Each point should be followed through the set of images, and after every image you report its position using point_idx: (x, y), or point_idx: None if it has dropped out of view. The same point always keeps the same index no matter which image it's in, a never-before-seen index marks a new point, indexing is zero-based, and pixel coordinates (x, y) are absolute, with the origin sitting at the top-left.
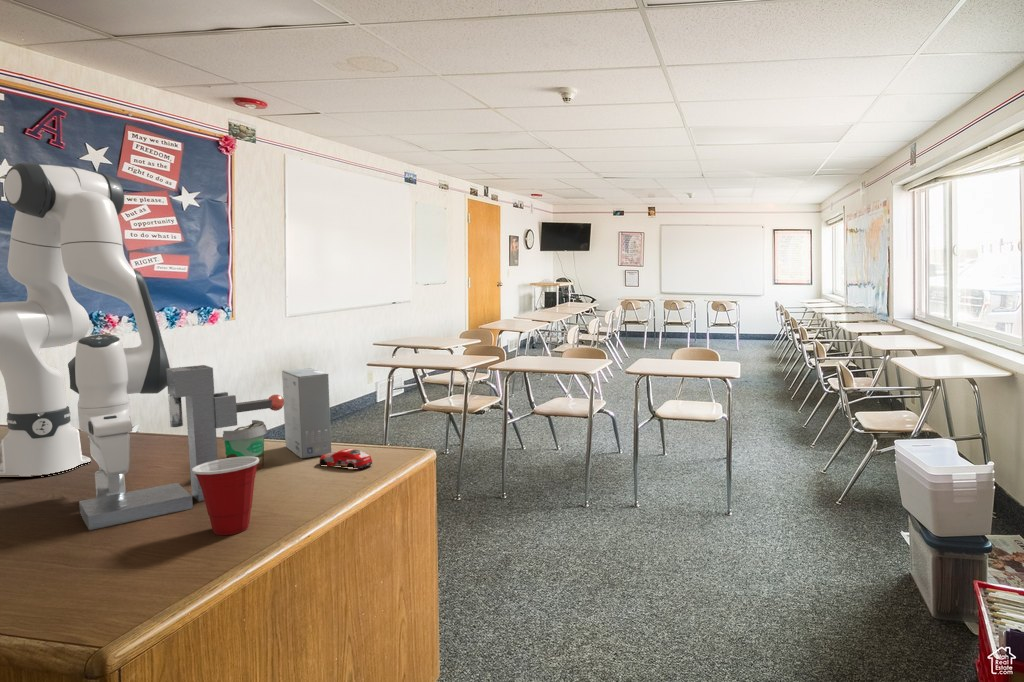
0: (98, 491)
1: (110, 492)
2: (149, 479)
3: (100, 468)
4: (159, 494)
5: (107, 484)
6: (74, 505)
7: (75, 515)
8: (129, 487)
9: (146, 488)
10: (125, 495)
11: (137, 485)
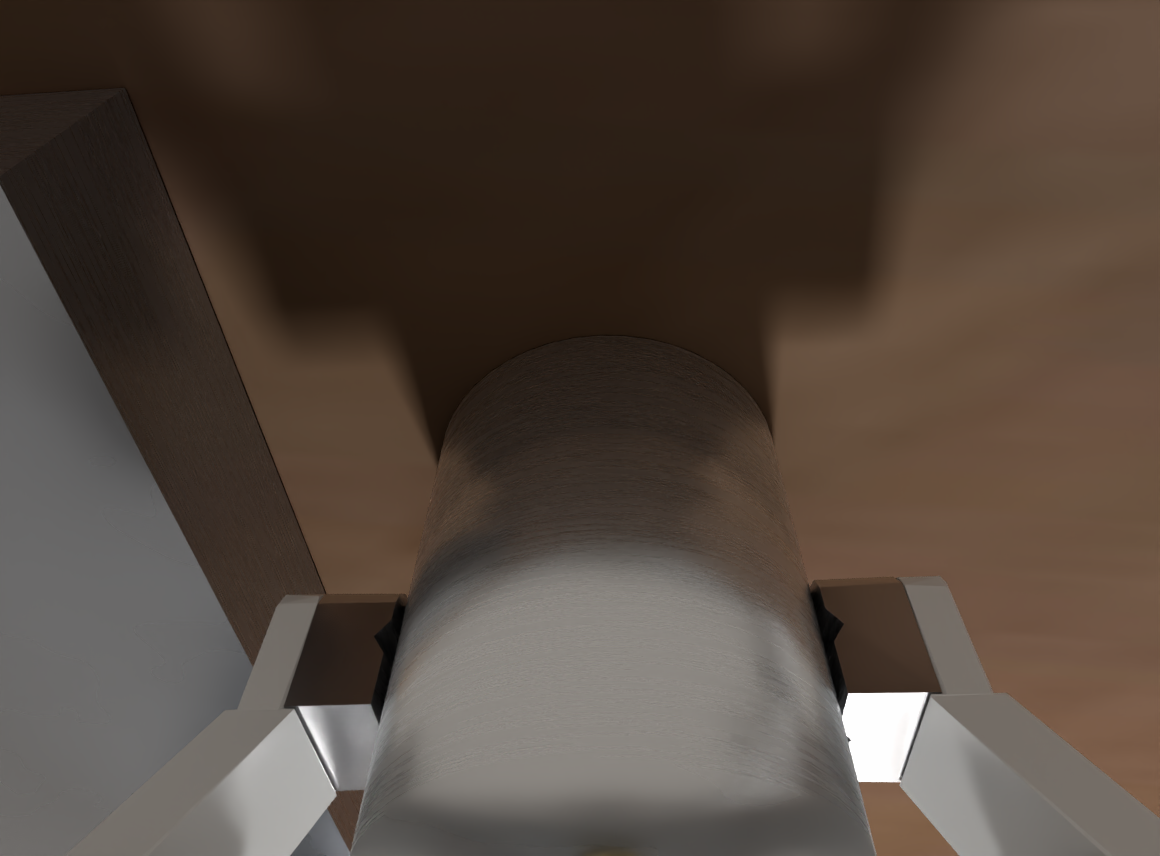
0: (503, 486)
1: (293, 597)
2: (1146, 770)
3: (1074, 827)
4: (26, 849)
5: (364, 677)
6: (748, 36)
7: (86, 12)
8: (1033, 643)
9: (325, 817)
10: (111, 681)
11: (1033, 693)
